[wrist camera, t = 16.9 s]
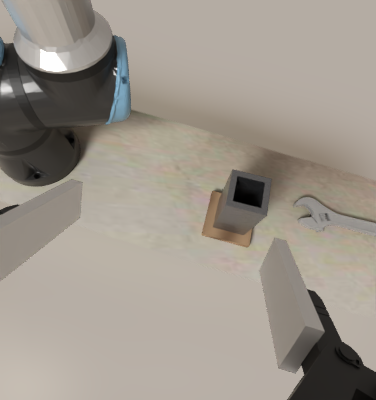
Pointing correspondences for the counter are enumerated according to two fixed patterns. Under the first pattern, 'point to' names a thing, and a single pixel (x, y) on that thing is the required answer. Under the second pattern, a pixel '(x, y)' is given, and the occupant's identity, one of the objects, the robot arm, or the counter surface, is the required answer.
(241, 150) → the counter surface
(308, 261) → the counter surface
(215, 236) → the drive block
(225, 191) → the grey square tube
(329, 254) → the counter surface
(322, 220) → the adjustable wrench
